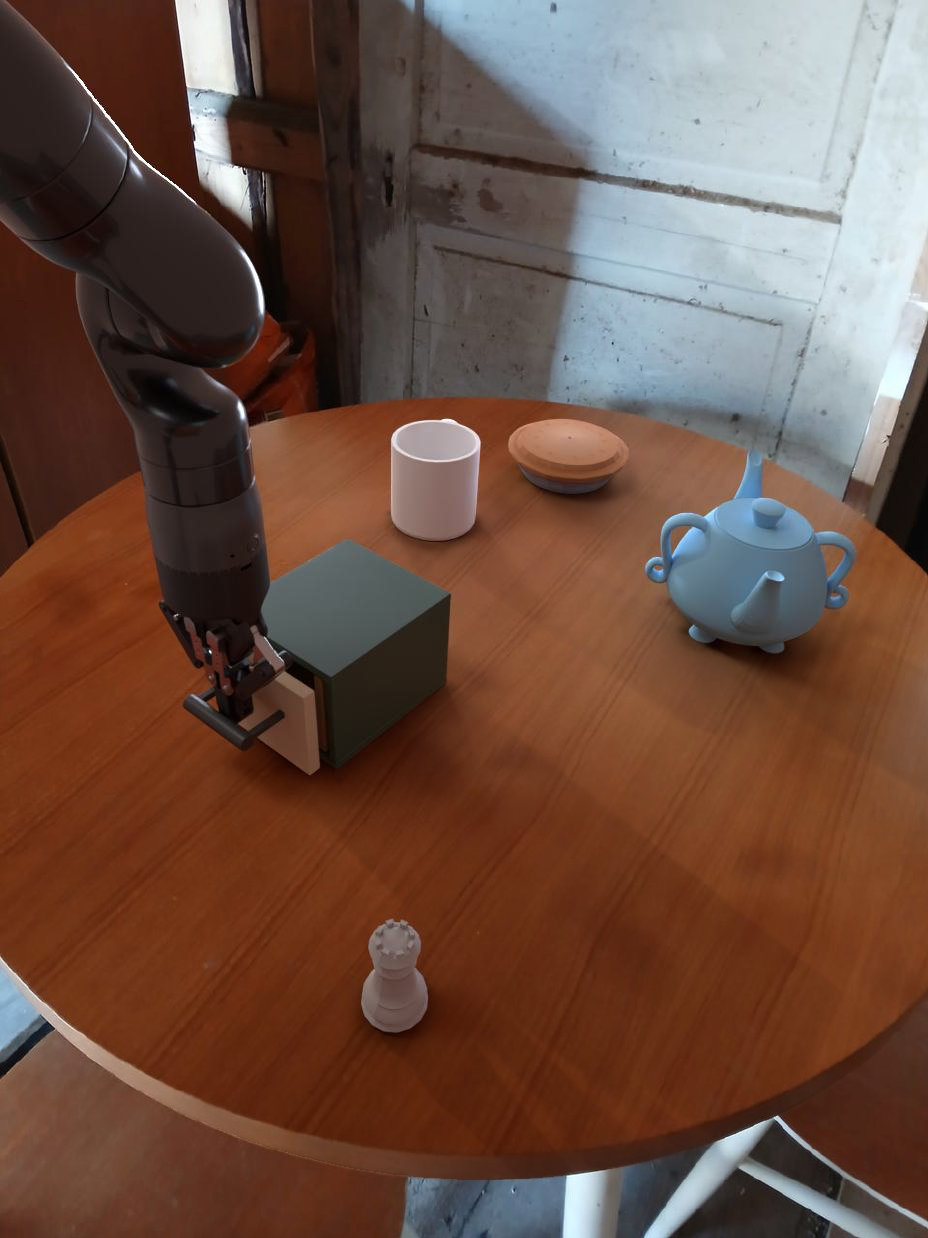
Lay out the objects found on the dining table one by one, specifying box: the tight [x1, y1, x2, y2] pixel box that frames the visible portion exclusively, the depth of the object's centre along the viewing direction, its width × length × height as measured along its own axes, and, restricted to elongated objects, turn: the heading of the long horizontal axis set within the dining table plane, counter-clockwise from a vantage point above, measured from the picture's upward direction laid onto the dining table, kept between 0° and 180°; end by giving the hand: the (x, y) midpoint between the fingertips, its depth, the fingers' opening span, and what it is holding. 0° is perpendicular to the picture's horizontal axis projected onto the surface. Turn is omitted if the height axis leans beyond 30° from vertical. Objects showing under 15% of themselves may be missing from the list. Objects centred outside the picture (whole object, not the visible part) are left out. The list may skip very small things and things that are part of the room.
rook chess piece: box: [360, 918, 429, 1033], centre depth 58 cm, size 4×4×8 cm
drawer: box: [182, 647, 329, 776], centre depth 77 cm, size 18×11×9 cm, turn 141°
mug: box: [390, 418, 481, 542], centre depth 105 cm, size 13×10×10 cm
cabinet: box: [261, 538, 452, 771], centre depth 80 cm, size 15×13×11 cm
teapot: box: [644, 448, 857, 654], centre depth 91 cm, size 16×20×14 cm
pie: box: [507, 418, 630, 495], centre depth 116 cm, size 15×16×5 cm
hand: (237, 715), depth 73 cm, fingers closed
